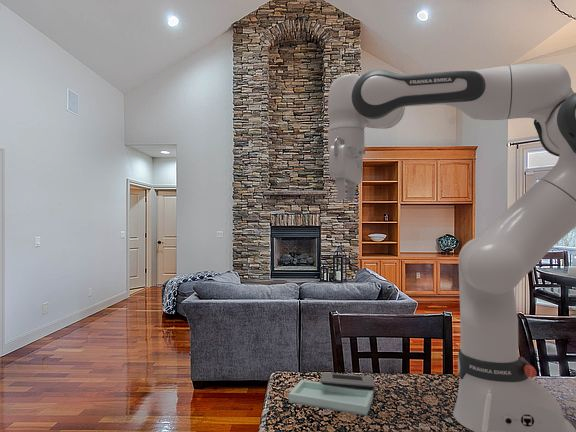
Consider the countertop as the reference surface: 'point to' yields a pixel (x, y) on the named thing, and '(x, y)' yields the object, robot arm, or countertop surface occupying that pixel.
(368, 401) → the parts tray
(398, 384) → the countertop surface
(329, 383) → the electrical outlet
